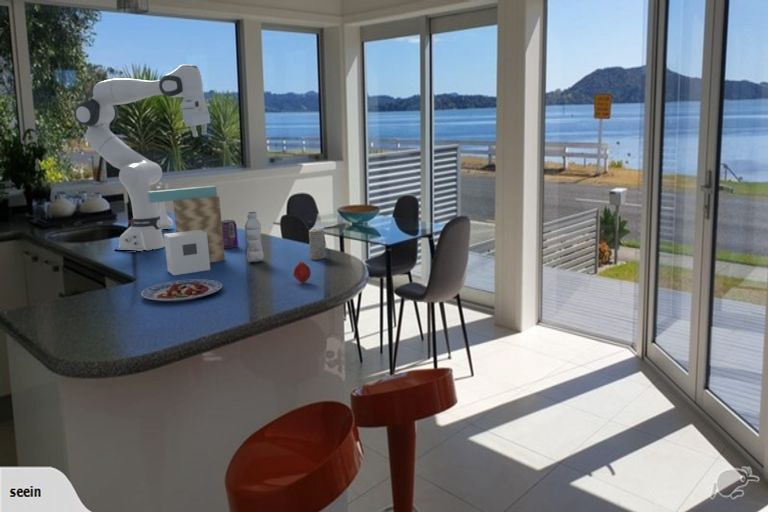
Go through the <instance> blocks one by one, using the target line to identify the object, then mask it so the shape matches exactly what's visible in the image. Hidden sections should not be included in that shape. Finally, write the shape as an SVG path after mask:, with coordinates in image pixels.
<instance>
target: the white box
mask: <svg viewBox="0 0 768 512" xmlns="http://www.w3.org/2000/svg"><path fill="white" fill-rule="evenodd" d="M163 239H164V242H165V247H164V249H165V257H166V268H167V272H169V273H170V274H171V275H172V276H178V275H184V274H192V273H197V272H205V271H211V262H210V260H209V250H208V239H207V233H206V232H204V231H202V230H193V231H185V232H177V233H176V232H170V233H163Z"/></svg>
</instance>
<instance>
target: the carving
mask: <svg viewBox="0 0 768 512" xmlns="http://www.w3.org/2000/svg"><path fill="white" fill-rule="evenodd" d="M308 239H309V256H310V259H311V260H314V261H318V260H323V259H324V258H325V256H326V250H325V249H326V246H325V245H326V242H325V231H324V229H323V228H312V229H310V230H308Z"/></svg>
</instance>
